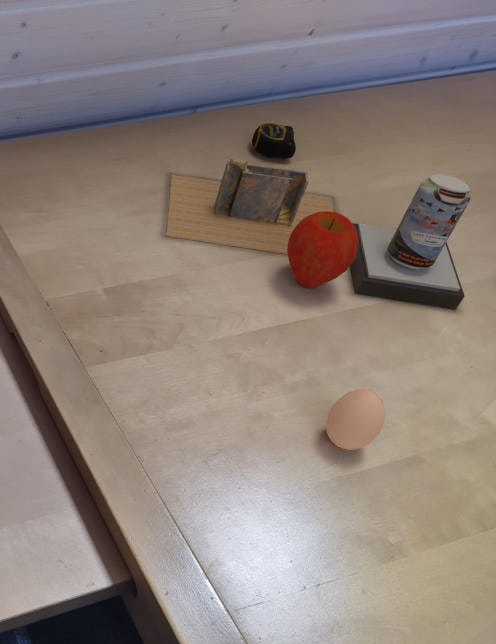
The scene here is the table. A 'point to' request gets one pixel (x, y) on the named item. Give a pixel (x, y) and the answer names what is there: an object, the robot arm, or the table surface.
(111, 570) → the table surface
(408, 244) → the beverage can
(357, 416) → the egg
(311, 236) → the apple
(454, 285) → the scale
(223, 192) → the architectural model on board
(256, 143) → the tape measure
